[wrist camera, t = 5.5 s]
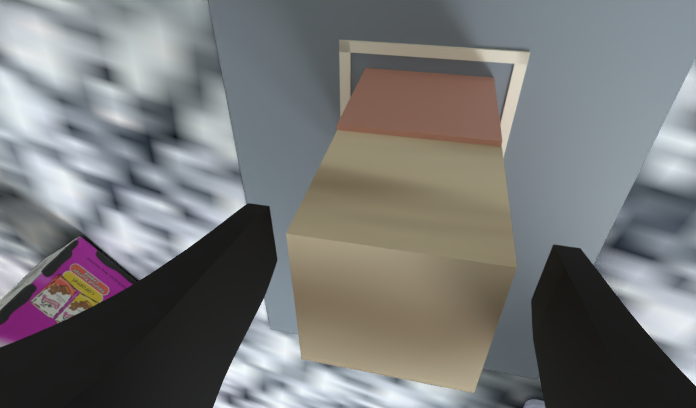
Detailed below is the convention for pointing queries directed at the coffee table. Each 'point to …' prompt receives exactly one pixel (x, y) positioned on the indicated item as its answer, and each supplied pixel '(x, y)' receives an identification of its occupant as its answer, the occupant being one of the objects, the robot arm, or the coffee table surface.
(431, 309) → the maple block
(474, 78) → the brick-red base block
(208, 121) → the coffee table surface
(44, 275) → the candy bar box
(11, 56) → the coffee table surface
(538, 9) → the grey flat plate
